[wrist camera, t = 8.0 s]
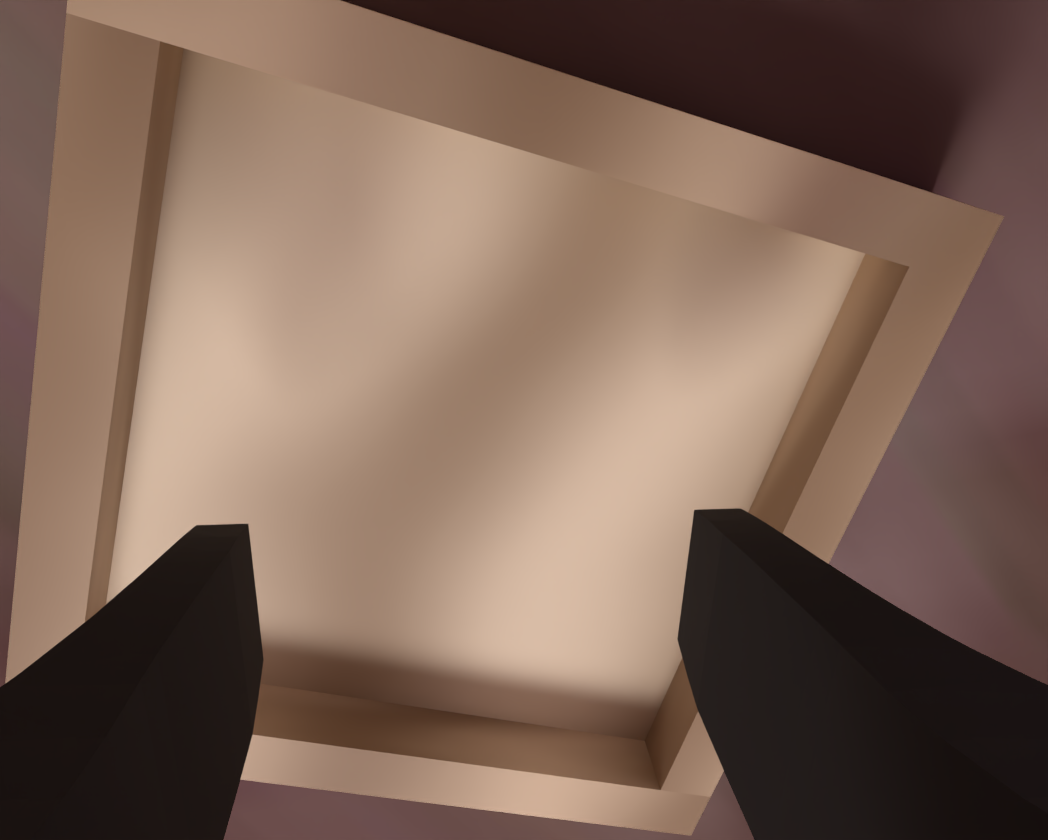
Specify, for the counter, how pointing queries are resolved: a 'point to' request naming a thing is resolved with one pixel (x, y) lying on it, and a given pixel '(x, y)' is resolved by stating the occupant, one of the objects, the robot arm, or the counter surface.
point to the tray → (450, 383)
